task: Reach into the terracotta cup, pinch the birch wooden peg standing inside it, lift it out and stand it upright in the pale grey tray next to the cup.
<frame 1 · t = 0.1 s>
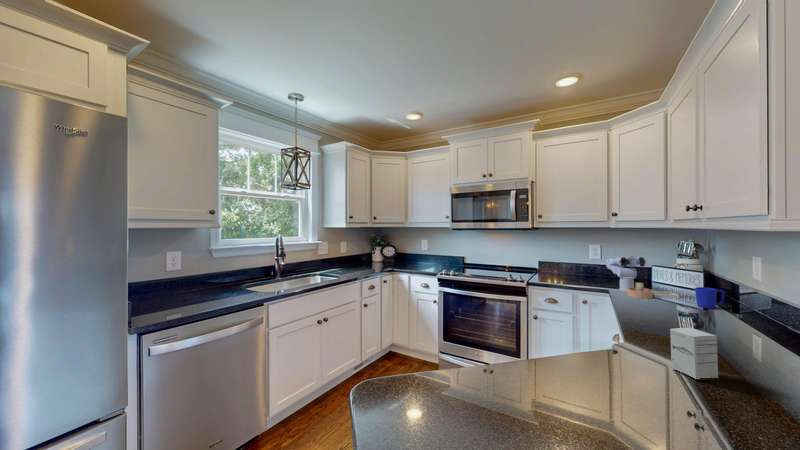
hand: (636, 262, 188), 22 cm above the counter, tool horizontal, fingers open, 7 cm apart
supplement box: (694, 375, 89), on the counter
peg: (640, 296, 188), point 1 cm above the counter, touching cup
mug: (710, 308, 160), on the counter
cup: (640, 297, 188), on the counter
tray: (662, 296, 187), on the counter
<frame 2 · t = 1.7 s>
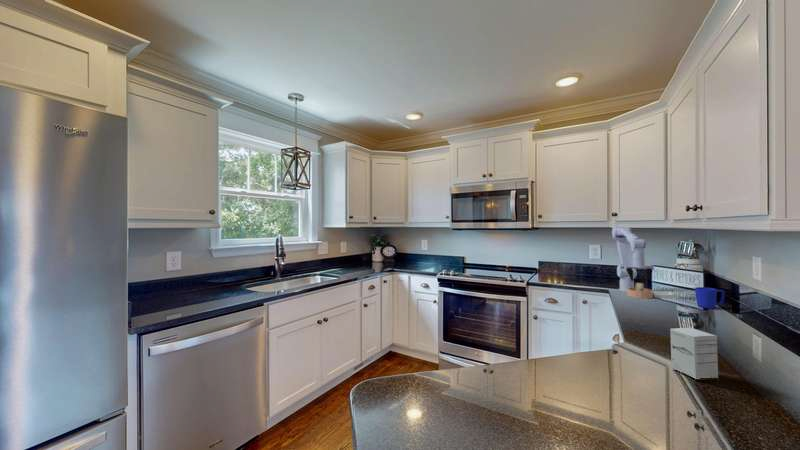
hand: (639, 280, 188), 10 cm above the counter, tool pointing down, fingers open, 7 cm apart
nothing on the counter moved.
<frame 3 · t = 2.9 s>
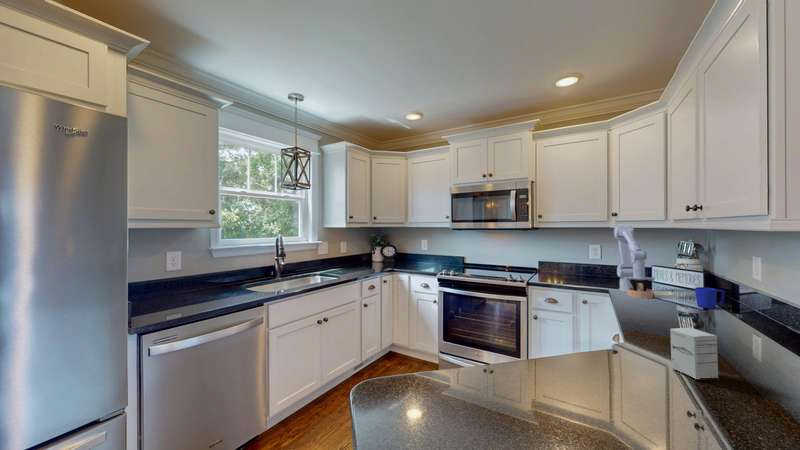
hand: (639, 292, 188), 3 cm above the counter, tool pointing down, fingers closed on peg, 4 cm apart
peg: (640, 296, 188), point 1 cm above the counter, touching cup, gripper
everything else where it was.
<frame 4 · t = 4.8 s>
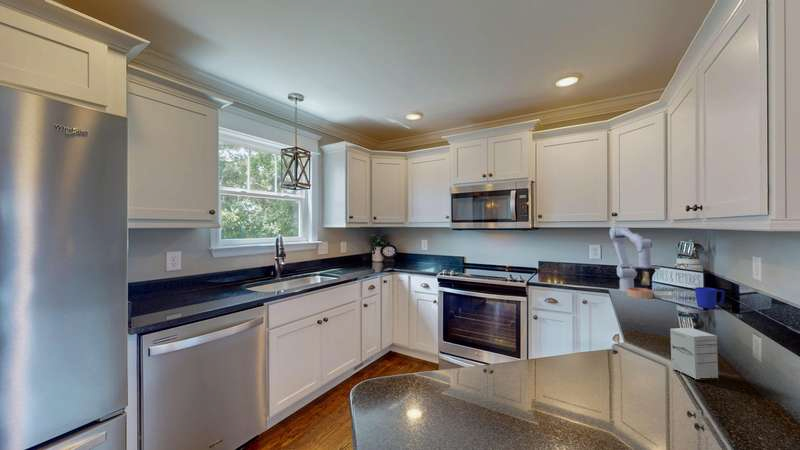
hand: (645, 280, 188), 10 cm above the counter, tool pointing down, fingers closed on peg, 4 cm apart
peg: (645, 284, 188), point 8 cm above the counter, touching gripper
everything else where it was.
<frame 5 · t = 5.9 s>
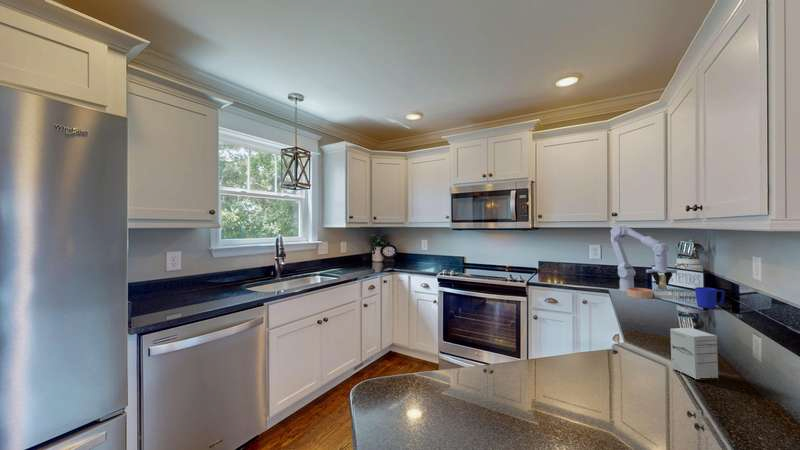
hand: (662, 284, 187), 7 cm above the counter, tool pointing down, fingers closed on peg, 4 cm apart
peg: (662, 288, 187), point 5 cm above the counter, touching gripper
everything else where it was.
when the fingers open (4 cm above the counter, at t = 6.8 s): peg drops 1 cm, resting on tray.
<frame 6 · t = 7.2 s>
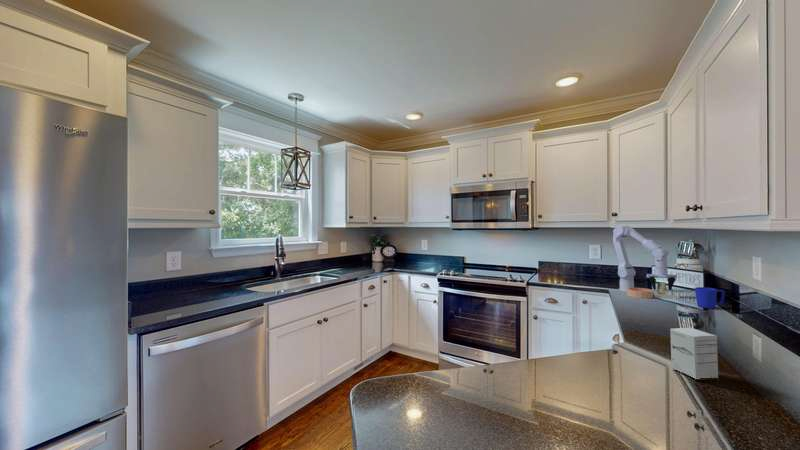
hand: (662, 289, 187), 4 cm above the counter, tool pointing down, fingers open, 7 cm apart
peg: (662, 295, 187), point 1 cm above the counter, touching tray
everything else where it was.
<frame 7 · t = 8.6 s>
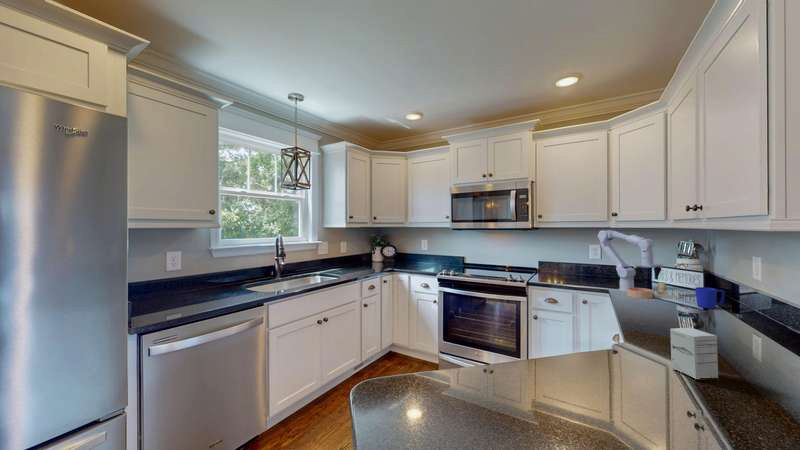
hand: (649, 279, 193), 10 cm above the counter, tool pointing down, fingers open, 7 cm apart
nothing on the counter moved.
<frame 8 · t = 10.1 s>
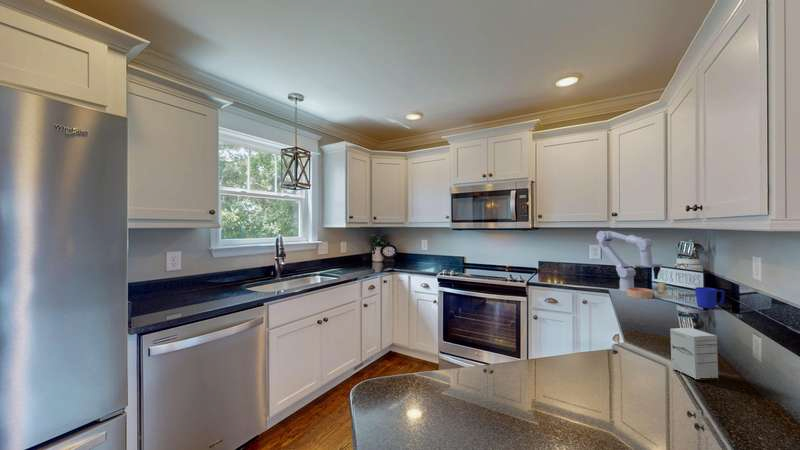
hand: (648, 279, 194), 10 cm above the counter, tool pointing down, fingers open, 7 cm apart
nothing on the counter moved.
at the end: peg inside the target area on the tray (0.2 cm from its centre), point 0.6 cm above the tray's base; peg tilted 1°; the gripper is holding nothing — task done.
